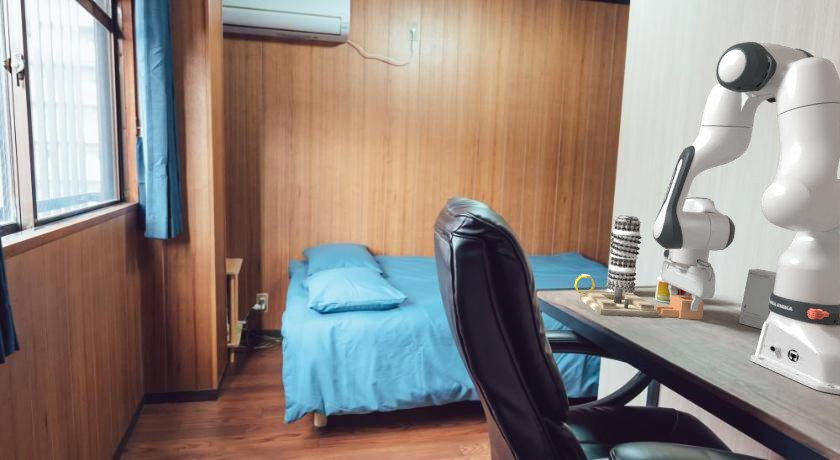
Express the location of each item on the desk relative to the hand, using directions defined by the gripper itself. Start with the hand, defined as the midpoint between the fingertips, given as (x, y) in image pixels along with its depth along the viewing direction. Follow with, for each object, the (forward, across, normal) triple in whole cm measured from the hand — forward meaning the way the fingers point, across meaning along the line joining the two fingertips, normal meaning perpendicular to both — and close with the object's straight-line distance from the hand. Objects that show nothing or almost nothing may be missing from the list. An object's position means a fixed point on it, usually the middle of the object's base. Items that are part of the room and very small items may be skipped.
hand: (683, 305), depth 139 cm
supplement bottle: (+3, +16, -3) cm, 16 cm away
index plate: (+3, +5, +16) cm, 17 cm away
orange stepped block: (+3, 0, +2) cm, 3 cm away
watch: (+4, +22, +19) cm, 29 cm away
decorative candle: (+3, +25, +6) cm, 26 cm away
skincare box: (+3, -8, -17) cm, 19 cm away
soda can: (+3, +17, -12) cm, 21 cm away
